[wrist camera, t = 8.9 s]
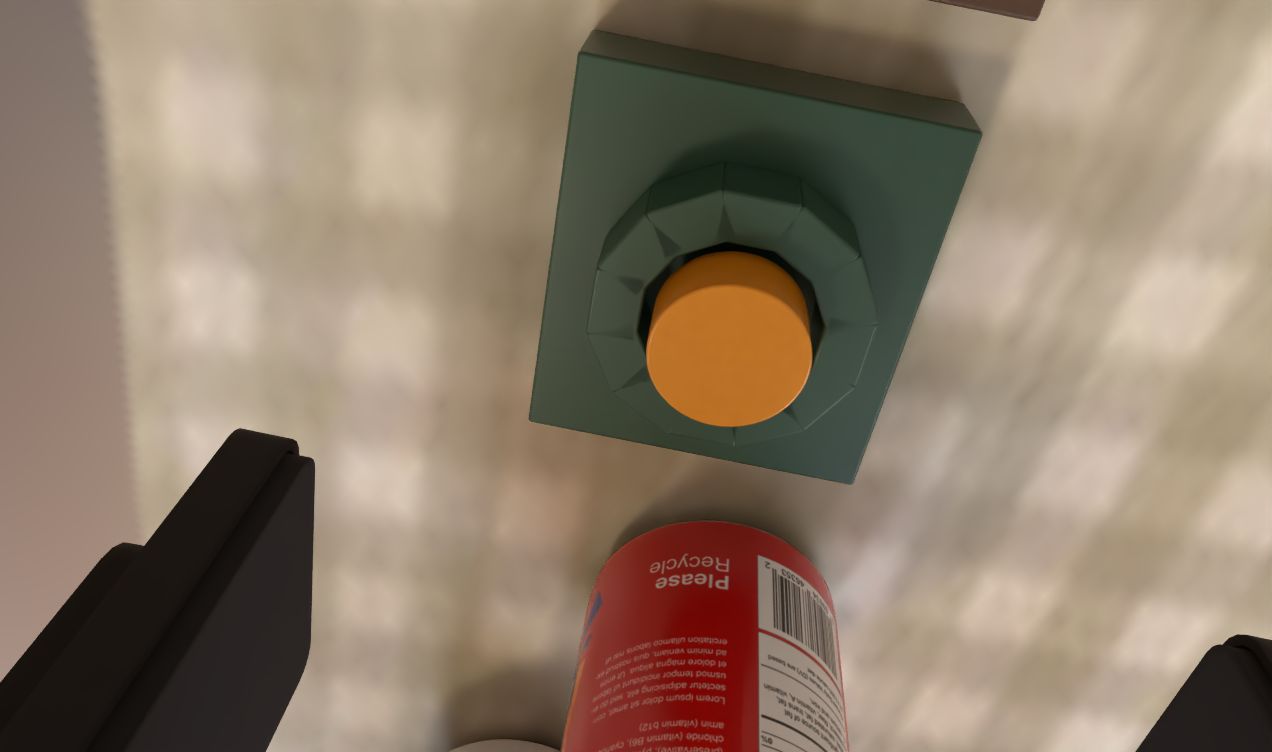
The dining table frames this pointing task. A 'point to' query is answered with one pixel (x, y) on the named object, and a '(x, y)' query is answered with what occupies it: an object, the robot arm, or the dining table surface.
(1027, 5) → the dimmer panel
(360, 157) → the dining table surface
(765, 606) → the soda can
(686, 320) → the power button
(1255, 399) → the dining table surface
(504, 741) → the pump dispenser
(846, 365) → the switch box
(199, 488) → the robot arm
